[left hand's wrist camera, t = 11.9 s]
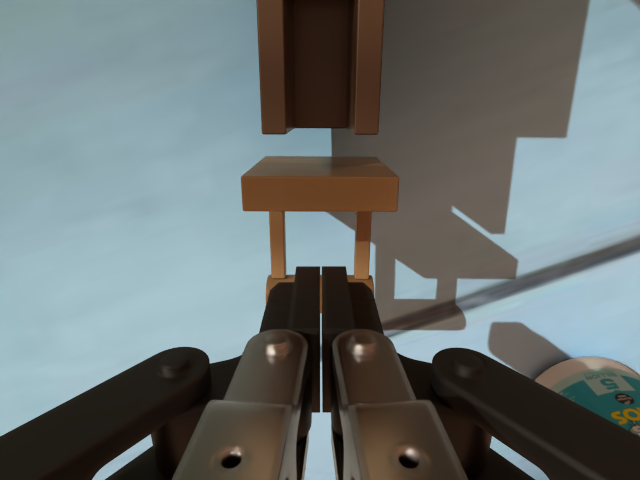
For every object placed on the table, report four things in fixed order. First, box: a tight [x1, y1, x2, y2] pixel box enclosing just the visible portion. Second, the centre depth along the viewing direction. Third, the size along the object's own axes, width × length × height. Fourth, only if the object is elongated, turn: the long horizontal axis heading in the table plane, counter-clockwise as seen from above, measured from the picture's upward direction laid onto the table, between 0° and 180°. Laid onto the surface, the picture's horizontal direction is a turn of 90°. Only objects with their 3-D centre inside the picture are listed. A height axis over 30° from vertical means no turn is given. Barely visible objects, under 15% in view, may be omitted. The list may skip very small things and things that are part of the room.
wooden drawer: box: [241, 0, 399, 313], centre depth 15 cm, size 23×5×6 cm, turn 0°
